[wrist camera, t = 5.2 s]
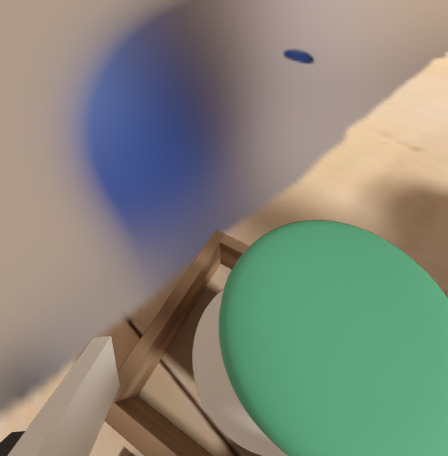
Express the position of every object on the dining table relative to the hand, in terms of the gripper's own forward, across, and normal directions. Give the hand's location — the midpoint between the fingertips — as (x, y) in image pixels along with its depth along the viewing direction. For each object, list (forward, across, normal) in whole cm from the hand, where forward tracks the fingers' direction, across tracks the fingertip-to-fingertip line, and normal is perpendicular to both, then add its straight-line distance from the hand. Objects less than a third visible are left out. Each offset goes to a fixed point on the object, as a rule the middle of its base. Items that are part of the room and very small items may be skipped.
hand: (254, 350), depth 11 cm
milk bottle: (+9, +1, -9) cm, 12 cm away
